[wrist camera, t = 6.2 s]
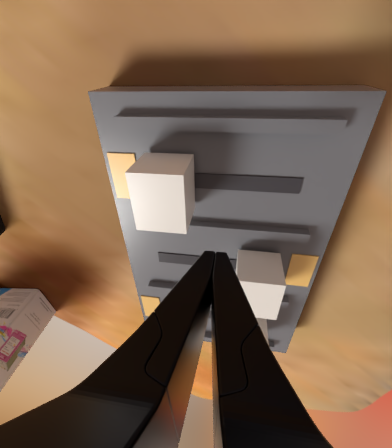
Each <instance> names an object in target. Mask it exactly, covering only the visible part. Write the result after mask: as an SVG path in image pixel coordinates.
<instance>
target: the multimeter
mask: <svg viewBox="0 0 392 448" xmlns="http://www.w3.org/2000/svg"><path fill="white" fill-rule="evenodd" d="M4 231H5V226H4V224H3V221H2V218H1V216H0V235H1V234H2V233H3V232H4Z"/></svg>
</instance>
